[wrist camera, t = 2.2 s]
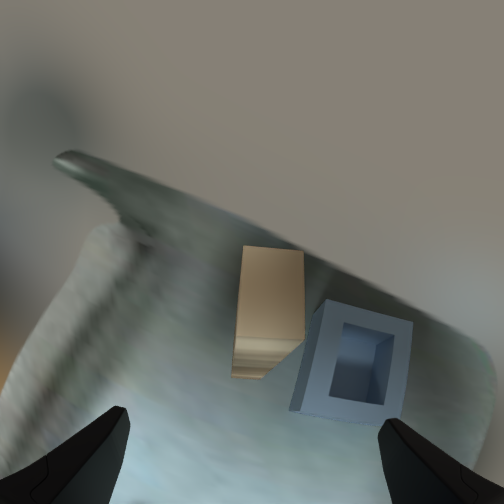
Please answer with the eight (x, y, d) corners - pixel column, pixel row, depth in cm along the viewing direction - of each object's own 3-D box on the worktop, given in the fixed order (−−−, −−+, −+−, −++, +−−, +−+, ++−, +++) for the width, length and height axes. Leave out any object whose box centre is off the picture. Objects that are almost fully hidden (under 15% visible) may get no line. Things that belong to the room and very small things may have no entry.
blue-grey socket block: (375, 425, 18) (398, 426, 15) (288, 410, 19) (300, 411, 16) (390, 334, 22) (413, 321, 19) (312, 314, 22) (326, 298, 19)
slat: (259, 379, 20) (304, 339, 8) (231, 377, 20) (236, 335, 8) (261, 339, 21) (303, 250, 10) (234, 337, 21) (243, 245, 10)
